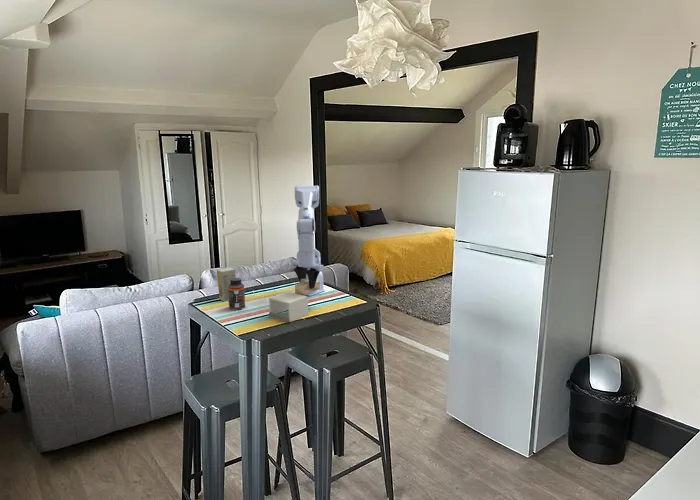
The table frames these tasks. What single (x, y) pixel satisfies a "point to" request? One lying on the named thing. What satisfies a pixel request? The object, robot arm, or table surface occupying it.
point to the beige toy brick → (305, 287)
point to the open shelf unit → (288, 306)
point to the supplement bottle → (236, 294)
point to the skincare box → (225, 282)
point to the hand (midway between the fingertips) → (307, 287)
